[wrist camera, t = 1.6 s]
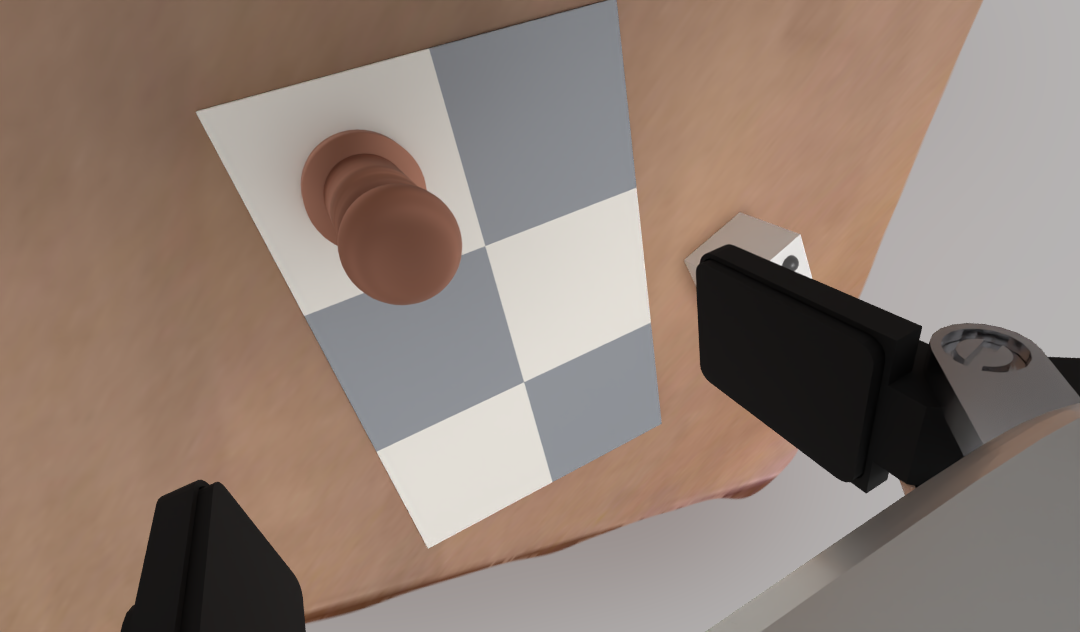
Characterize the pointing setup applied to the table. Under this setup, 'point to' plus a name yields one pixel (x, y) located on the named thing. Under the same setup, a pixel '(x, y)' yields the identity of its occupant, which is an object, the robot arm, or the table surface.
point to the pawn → (381, 217)
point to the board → (476, 258)
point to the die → (756, 244)
